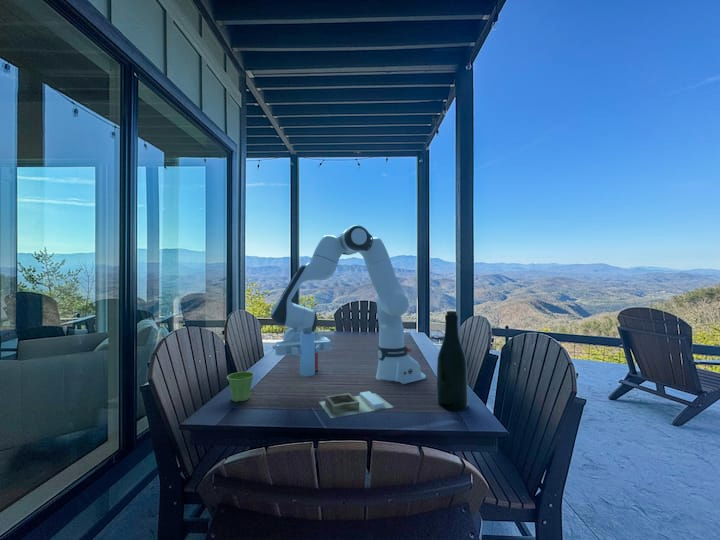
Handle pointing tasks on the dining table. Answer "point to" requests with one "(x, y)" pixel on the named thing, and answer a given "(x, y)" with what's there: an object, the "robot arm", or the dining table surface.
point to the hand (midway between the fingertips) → (308, 351)
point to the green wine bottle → (452, 368)
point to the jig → (348, 405)
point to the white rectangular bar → (372, 400)
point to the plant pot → (240, 385)
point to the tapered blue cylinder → (307, 352)
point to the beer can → (316, 361)
